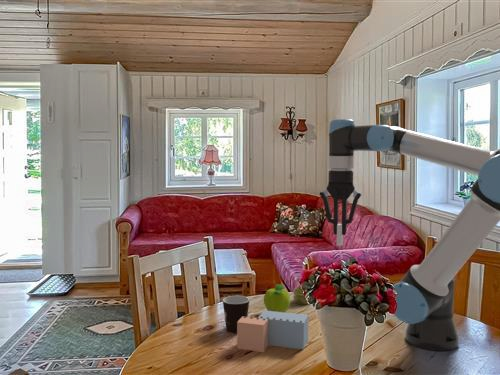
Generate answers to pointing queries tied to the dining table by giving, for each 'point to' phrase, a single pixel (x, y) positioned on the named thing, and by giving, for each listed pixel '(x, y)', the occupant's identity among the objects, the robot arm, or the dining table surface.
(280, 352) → the dining table surface
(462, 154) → the robot arm
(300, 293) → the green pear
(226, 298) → the coffee mug
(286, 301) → the fruit
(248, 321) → the block
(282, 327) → the pad
